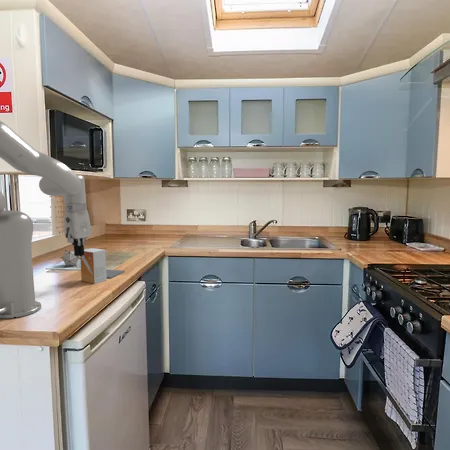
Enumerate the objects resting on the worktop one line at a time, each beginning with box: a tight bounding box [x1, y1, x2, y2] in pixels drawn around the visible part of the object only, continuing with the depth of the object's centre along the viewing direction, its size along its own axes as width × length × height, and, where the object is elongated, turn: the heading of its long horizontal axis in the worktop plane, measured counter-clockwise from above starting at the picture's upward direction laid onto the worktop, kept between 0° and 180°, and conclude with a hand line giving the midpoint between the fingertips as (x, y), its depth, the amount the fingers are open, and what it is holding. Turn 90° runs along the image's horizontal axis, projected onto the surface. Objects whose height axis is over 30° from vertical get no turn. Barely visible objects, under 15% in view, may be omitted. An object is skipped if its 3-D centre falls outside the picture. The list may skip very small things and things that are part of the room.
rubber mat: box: [106, 269, 125, 279], centre depth 147 cm, size 11×10×1 cm
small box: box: [79, 247, 108, 285], centre depth 137 cm, size 8×6×13 cm
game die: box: [60, 249, 81, 268], centre depth 164 cm, size 9×8×10 cm
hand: (79, 255), depth 128 cm, fingers closed
